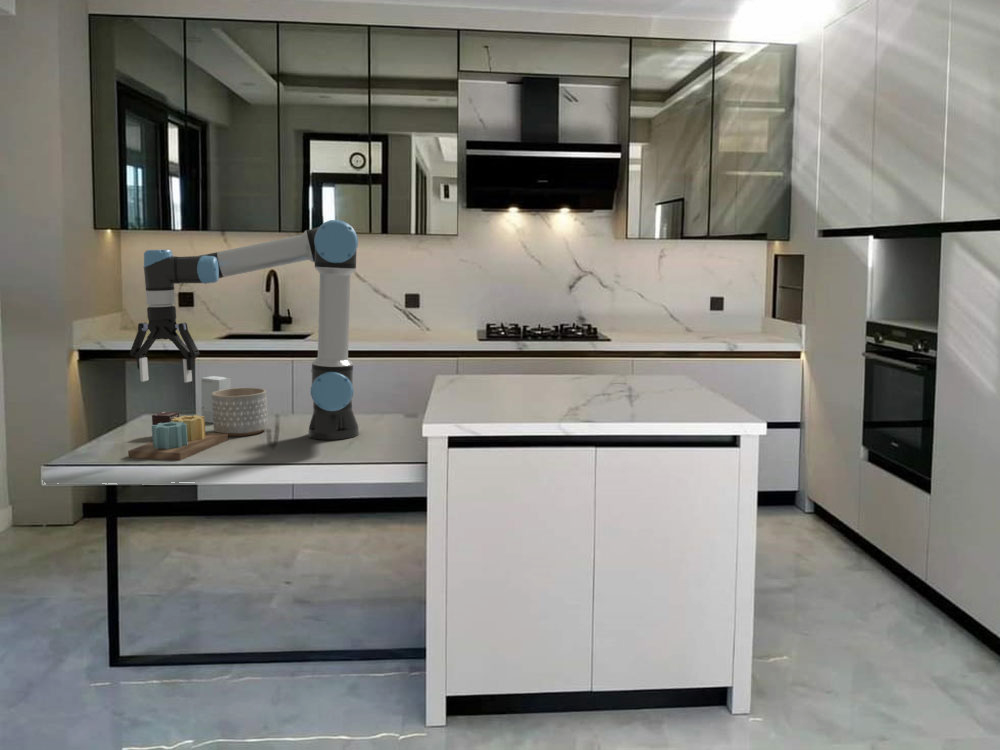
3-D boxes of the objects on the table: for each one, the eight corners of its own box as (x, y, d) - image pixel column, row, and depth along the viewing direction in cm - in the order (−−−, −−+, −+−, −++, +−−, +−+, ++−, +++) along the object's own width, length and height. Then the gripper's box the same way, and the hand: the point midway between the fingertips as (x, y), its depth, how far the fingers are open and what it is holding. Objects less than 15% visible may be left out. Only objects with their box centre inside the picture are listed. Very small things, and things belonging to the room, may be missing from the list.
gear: (193, 442, 267) (191, 422, 266) (175, 449, 259) (174, 428, 258) (165, 441, 269) (163, 421, 268) (147, 448, 260) (145, 427, 260)
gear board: (227, 440, 280) (226, 417, 279) (180, 460, 255) (179, 435, 254) (180, 438, 283) (178, 415, 282) (128, 457, 258) (126, 433, 257)
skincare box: (201, 422, 308) (198, 377, 306) (214, 418, 313) (212, 375, 311) (220, 424, 304) (217, 379, 302) (233, 420, 309) (231, 376, 307)
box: (170, 439, 282) (169, 415, 281) (152, 438, 283) (151, 415, 282) (181, 435, 288) (179, 412, 287) (163, 434, 289) (162, 411, 288)
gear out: (207, 434, 279) (205, 414, 278) (202, 440, 270) (201, 420, 269) (175, 435, 277) (174, 415, 276) (170, 442, 268) (169, 421, 267)
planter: (211, 429, 296) (208, 390, 294) (263, 424, 302) (261, 386, 301) (217, 439, 281) (214, 397, 279) (272, 434, 287) (270, 393, 286)
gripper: (209, 304, 259) (213, 380, 262) (129, 304, 264) (134, 378, 267) (194, 306, 252) (199, 384, 255) (113, 306, 257) (118, 382, 260)
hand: (166, 381), depth 261 cm, fingers open, 13 cm apart
